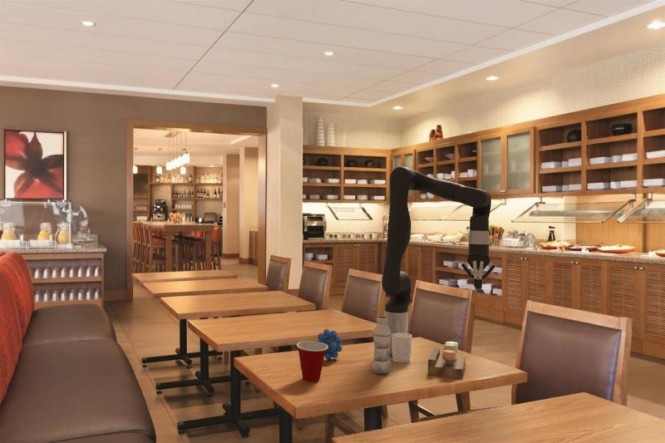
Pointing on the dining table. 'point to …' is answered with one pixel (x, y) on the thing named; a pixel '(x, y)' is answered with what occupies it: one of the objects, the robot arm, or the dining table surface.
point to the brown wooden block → (445, 365)
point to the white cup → (401, 347)
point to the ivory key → (452, 343)
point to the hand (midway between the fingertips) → (477, 288)
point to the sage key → (450, 347)
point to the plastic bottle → (381, 346)
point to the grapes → (330, 343)
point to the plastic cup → (311, 359)
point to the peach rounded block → (448, 356)
